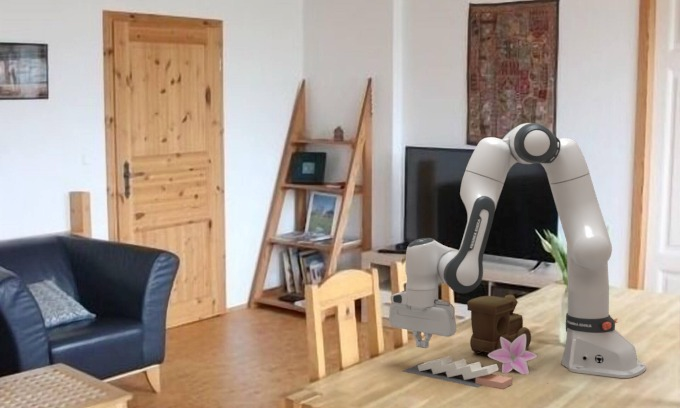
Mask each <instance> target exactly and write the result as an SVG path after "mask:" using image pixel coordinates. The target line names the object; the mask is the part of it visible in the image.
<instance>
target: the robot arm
mask: <svg viewBox="0 0 680 408" xmlns="http://www.w3.org/2000/svg"><path fill="white" fill-rule="evenodd" d="M470 156H471V157H470V158H469V160H468V163H467V165H466V168H465V171H464V173H463V176H462V180H461V184H460V192H459V195H460V199H461V200H462V201H461V202H462V203H463V205H464V207H465V210H466V214H467V220H466V221H467V222H466V225H465V229H464V233H463V237H462V240H461V243H460V247H459V249H456V248H453V247H450V246H449V247H448V246H446V245H443V244H442V243H440V242H438V241H436V240H435V239H434V238H431V237H423V238H418V239H414V240H413V241H411V242H409V244H408V246H407V248H406V252H405V271H404V272H405V275H406V283H405V290H403V291H399V292H397V293H396V292H395V293H393V294H391V295H390V297H389V299H390V302H391V304H390V305H389V310H388V311H389V312H388V319H389V321H388V322H389V325H390V327H392V328H395V329H396V328H397V329H401V330H407V331H412V336H413V337H414V339H415V343H416V348H421V349H428V348H429V346H430V344H429V342H430V340H431V338H432V336H433V335H436V336H440V337H445V338H447V337H448V338H449V337H452V336H454V335H455V334H456V332H457V320H456V315H455V314H456V313H455V312H456V311H455V310H456V309H455V306H454V305H453V304H451V302H449V301H444V300H440V299H439V284H446V285H447V286H448V287H449V288H450V289H451V290H452V291H453V292H455V293H458V294H469V293H471V292H473V291H474V290H476V289H477V288H478V287H479V285H481V282H482V280H483V276H484V267H483V265H484V263H483V262H484V261H483V260H484V253H485V252H486V251H485V250H486V247H487V244H488V240H489V235H490V233H491V229H492V226H493V225H492V224H493V221H494V217H495V214H496V213H495V211H496V209H497V206H498V203H499V199H500V196H501V193H502V190H503V187H504V184H505V181H506V178H507V175H508V173H509V171H510V170H511V168H512V167H513V166H514V165H515V164H522V165H532V164H533V165H534V164H540V165H541V166H542V167H543V168H544V171H545V172H546V176H547V179H548V183H549V186H550V190H551V193H552V197H553V200H554V204H555V208H556V211H557V214H558V217H559V221H560V224H561V227H562V230H563V234H564V237H565V242H566V265H567V267H566V268H567V273H566V274H567V312H566V313H565V332H566V338H565V344H564V350H563V354H562V358H561V362H560V364H561V365H562V366H564V367H566V368H567V370H568V371H570V372H571V373H579V374H586V375H593V376H594V375H595V376H603V377H612V378H620V379H629V378H630V379H631V378H634V377H638V376H639V375H641V374H643V373H644V372H645V371H646V364H645V363H644V362H640V361H638V355H637V350H636V348H635V345H634V344H633V343H631V341H629V340H628V339H626V337H625V336H623V335H622V334H621V333H620V332H619V331H617V329H616V324H617V323H618V318H613V317H612V316H611V315H610V313H609V312H610V284H609V283H610V281H609V263H608V262H609V261H610V259H611V256H612V254H613V253H612V252H613V247H612V241H611V238H610V236H609V232H608V229H607V226H606V222H605V220H604V216H603V213H602V210H601V208H600V204H599V201H598V198H597V194H596V191H595V186H594V183H593V180H592V176H591V172H590V169H589V167H588V163H587V160H586V159H585V156H584V153H583V152H582V150H581V147H580V146H579V144H578V142H576V141H575V140H574V139H572V138H568V137H561V138H558V136H556V135H555V134H554V133H553V132H552V130H551V129H549V128H548V127H547V126H545V125H544V124H542V123H538V122H526V123H521V124H518V125H517V126H514V127H512V128H511V129H509V130H508V131H507V132H506V133H505V134H504V135H503V136H502V137H500V138H497V137H494V136H490V137H484V138H482V139H481V140H480V141H479V142H478V143H477V145H476V146H475V148H474V150H473V152H472V154H471V155H470ZM422 333H423V337H424V339H423V338H422V337H421V334H422Z"/></svg>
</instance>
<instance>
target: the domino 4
mask: <svg viewBox="0 0 680 408" xmlns="http://www.w3.org/2000/svg"><path fill="white" fill-rule="evenodd" d="M498 371H499V367H498V364H497V363H495V364H491V365H486V366H483V367H482V366H481V368H479V369H477V370H475V371H473V372H469V373H465V374H462V375H463V378H464V380H466V379H471V378H475V377H480V376H484V375H489V374H493V373H495V372H498Z"/></svg>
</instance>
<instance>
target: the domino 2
mask: <svg viewBox="0 0 680 408" xmlns="http://www.w3.org/2000/svg"><path fill="white" fill-rule="evenodd" d="M465 365H467V361H466V359H465V358H462V359H458V360H454V361H452V362H451V363H448V364H446V365H444V366H440V367H436V368H432V372H433V374H437V373H441V372H446V371H450V370H455V369H458V368H460V367H463V366H465Z"/></svg>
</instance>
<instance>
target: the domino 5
mask: <svg viewBox="0 0 680 408" xmlns="http://www.w3.org/2000/svg"><path fill="white" fill-rule="evenodd" d="M476 384H481V385H482V386H486V387H490V388H491V387H492V388H496V389H499V390H500V389H501V390H504V389H505V388H508V387H509V386H511V385H512V386H513V377H507V376H502V375H498V374H493V373H491V374H489V375H484V376H480V377H476Z"/></svg>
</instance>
